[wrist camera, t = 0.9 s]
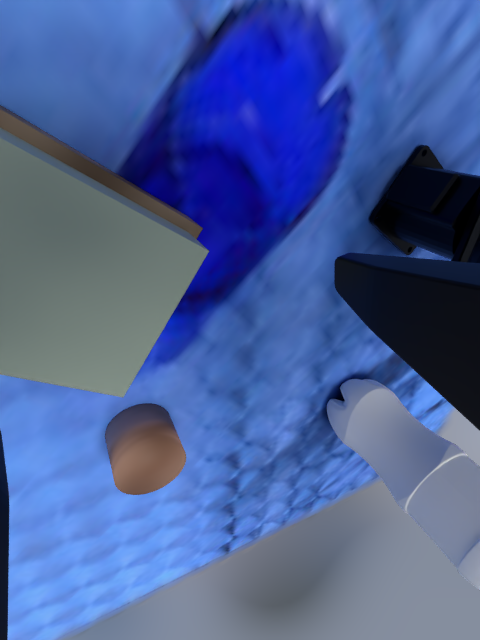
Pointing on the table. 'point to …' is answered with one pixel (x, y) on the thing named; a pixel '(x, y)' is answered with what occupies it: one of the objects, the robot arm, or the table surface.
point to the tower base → (93, 169)
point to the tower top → (82, 274)
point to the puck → (144, 449)
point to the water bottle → (415, 469)
